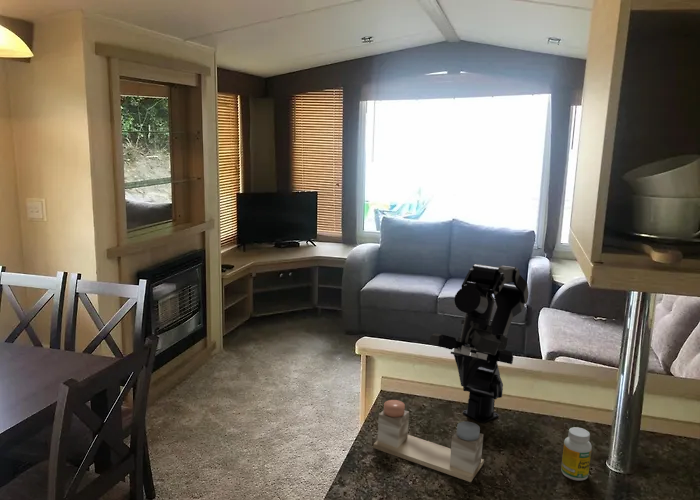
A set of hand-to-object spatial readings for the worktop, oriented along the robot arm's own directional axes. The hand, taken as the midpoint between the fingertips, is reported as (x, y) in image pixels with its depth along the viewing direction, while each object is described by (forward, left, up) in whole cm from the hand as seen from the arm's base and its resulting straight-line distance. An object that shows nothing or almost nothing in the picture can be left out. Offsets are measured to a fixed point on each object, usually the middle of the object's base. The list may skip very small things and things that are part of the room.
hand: (463, 386), depth 128 cm
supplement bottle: (-10, +23, -13) cm, 28 cm away
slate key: (+8, +9, -8) cm, 14 cm away
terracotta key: (+14, -7, -8) cm, 18 cm away
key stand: (+11, +1, -13) cm, 17 cm away
